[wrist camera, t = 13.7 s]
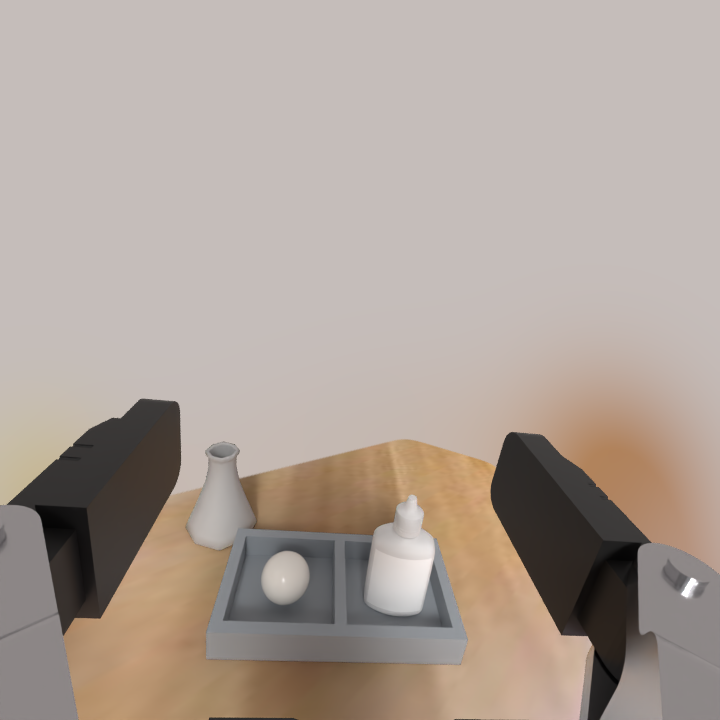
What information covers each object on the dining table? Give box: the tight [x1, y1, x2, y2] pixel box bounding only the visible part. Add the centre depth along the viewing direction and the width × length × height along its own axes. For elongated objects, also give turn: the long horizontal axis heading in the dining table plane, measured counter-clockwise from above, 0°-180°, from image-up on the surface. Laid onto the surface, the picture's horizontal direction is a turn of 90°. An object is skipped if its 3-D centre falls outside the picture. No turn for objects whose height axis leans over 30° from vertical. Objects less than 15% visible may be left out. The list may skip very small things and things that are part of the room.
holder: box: [206, 528, 468, 665], centre depth 38 cm, size 21×11×3 cm, turn 93°
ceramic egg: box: [261, 551, 310, 605], centre depth 37 cm, size 4×4×4 cm
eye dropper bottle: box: [364, 495, 435, 616], centre depth 36 cm, size 4×6×12 cm
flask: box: [186, 442, 257, 551], centre depth 44 cm, size 7×7×10 cm
